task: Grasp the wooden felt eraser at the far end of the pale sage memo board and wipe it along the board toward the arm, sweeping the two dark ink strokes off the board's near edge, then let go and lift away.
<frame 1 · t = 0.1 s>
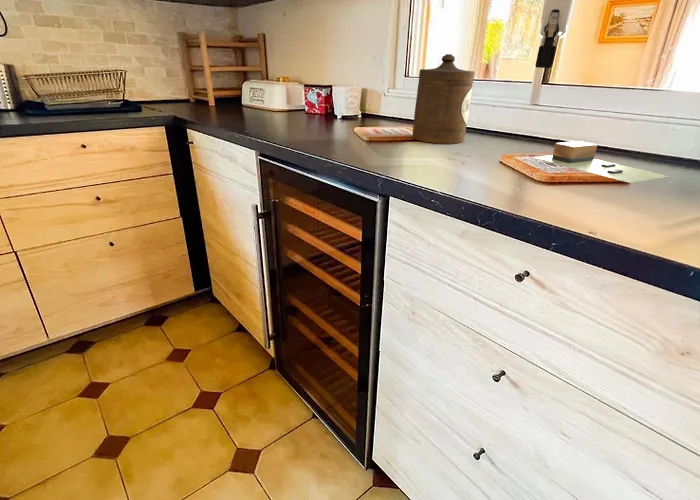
hand: (543, 67, 88), 20 cm above the counter, tool pointing down, fingers open, 9 cm apart
eraser: (572, 159, 89), point 1 cm above the counter, touching board
board: (594, 171, 85), on the counter
wooden container: (437, 139, 115), on the counter
ink stroke 2: (614, 172, 79), point 1 cm above the counter, touching board
ink stroke 1: (608, 166, 84), point 1 cm above the counter, touching board
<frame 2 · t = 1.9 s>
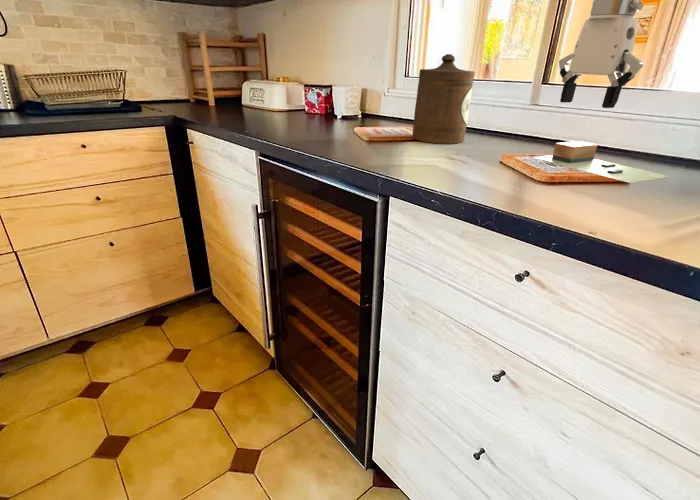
hand: (585, 104, 84), 13 cm above the counter, tool pointing down, fingers open, 9 cm apart
nothing on the counter moved.
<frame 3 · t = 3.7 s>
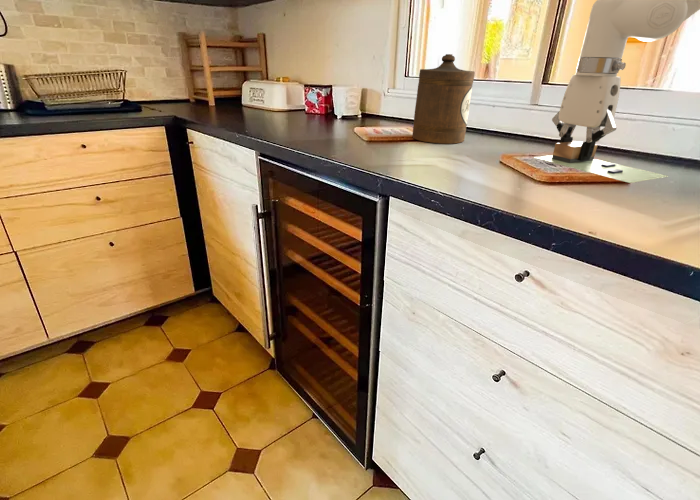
hand: (573, 156, 89), 2 cm above the counter, tool pointing down, fingers closed on eraser, 4 cm apart
eraser: (572, 159, 89), point 1 cm above the counter, touching board, gripper
everything else where it was.
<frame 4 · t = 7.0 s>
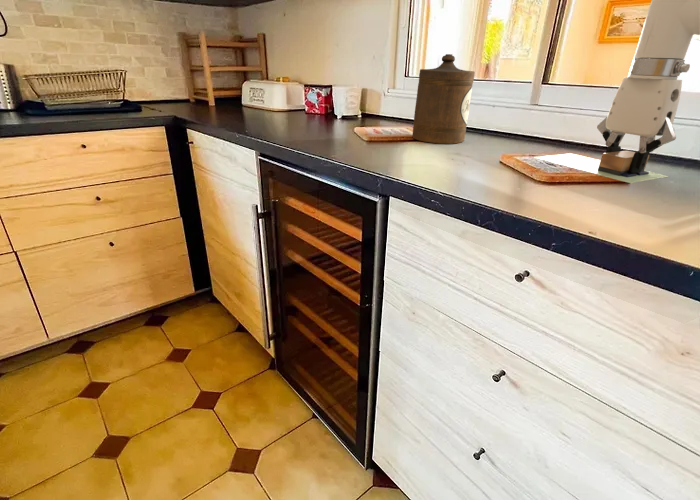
hand: (621, 168, 80), 2 cm above the counter, tool pointing down, fingers closed on eraser, 4 cm apart
eraser: (620, 171, 80), point 1 cm above the counter, touching gripper
ink stroke 2: (628, 175, 77), point 1 cm above the counter
ink stroke 1: (640, 174, 79), point 1 cm above the counter, touching board
everything else where it was.
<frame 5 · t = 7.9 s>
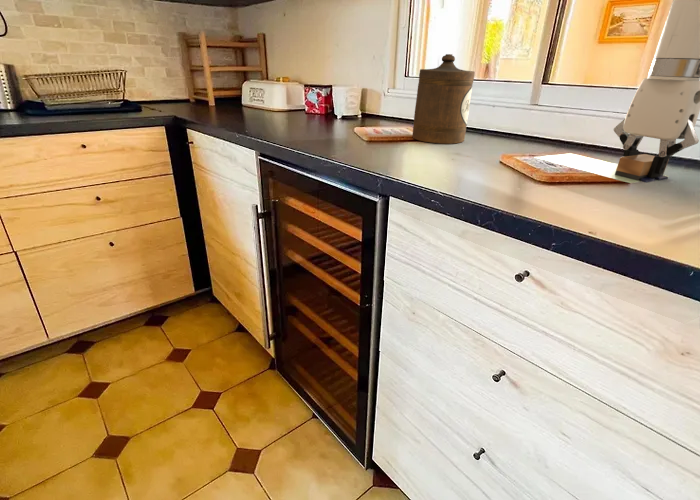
hand: (639, 172, 77), 2 cm above the counter, tool pointing down, fingers closed on eraser, 4 cm apart
eraser: (638, 175, 77), point 1 cm above the counter, touching gripper, ink stroke 1
ink stroke 2: (647, 181, 74), point 1 cm above the counter, tilted 28°, touching board, gripper
ink stroke 1: (659, 178, 76), point 1 cm above the counter, touching eraser
everything else where it was.
when the fingers open (2 cm above the counter, at t = 8.6 s): eraser stays where it is, resting on board.
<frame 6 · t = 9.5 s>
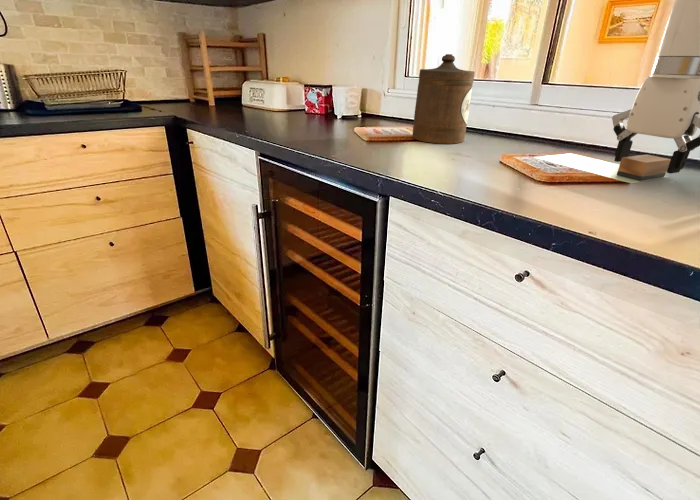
hand: (645, 166, 76), 3 cm above the counter, tool pointing down, fingers open, 9 cm apart
eraser: (640, 176, 77), point 1 cm above the counter, touching board
ink stroke 2: (652, 187, 74), on the counter, tilted 179°
ink stroke 1: (663, 186, 76), on the counter
everything else where it was.
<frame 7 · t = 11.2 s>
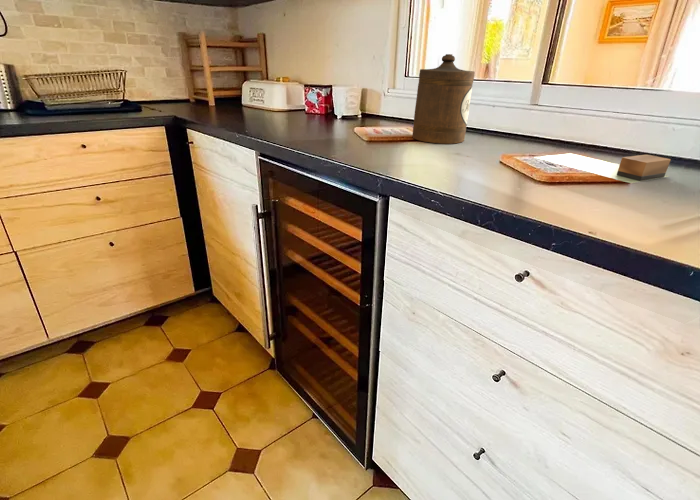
nothing on the counter moved.
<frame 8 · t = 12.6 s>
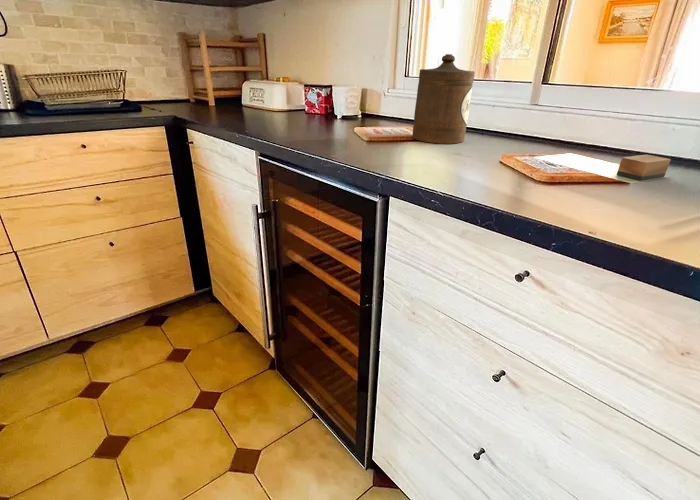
nothing on the counter moved.
at the end: ink stroke 1 on the counter; ink stroke 2 on the counter; eraser inside the target area on the board (8.8 cm from its centre), point 1.2 cm above the board's base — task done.
